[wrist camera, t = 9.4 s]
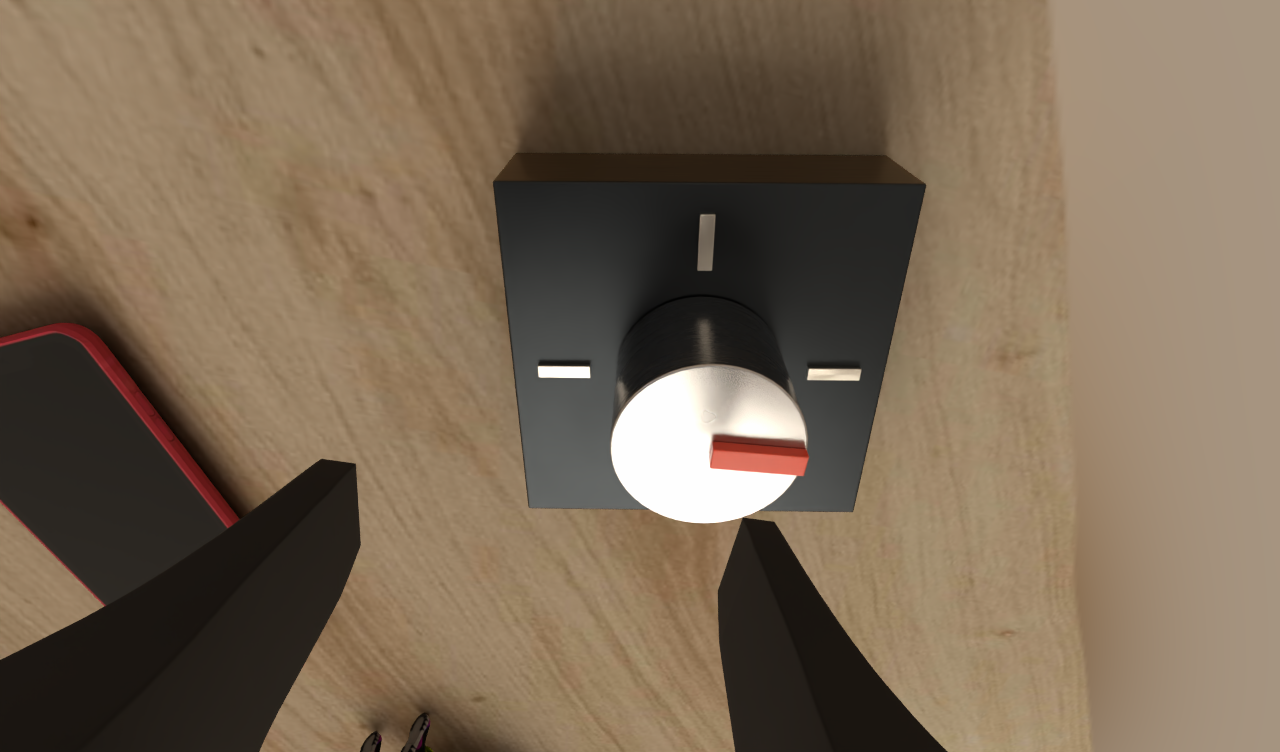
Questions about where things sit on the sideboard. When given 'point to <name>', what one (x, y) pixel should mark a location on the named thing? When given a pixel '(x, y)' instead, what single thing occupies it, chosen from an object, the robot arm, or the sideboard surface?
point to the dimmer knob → (705, 413)
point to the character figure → (416, 742)
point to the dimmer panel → (699, 294)
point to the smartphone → (97, 464)
